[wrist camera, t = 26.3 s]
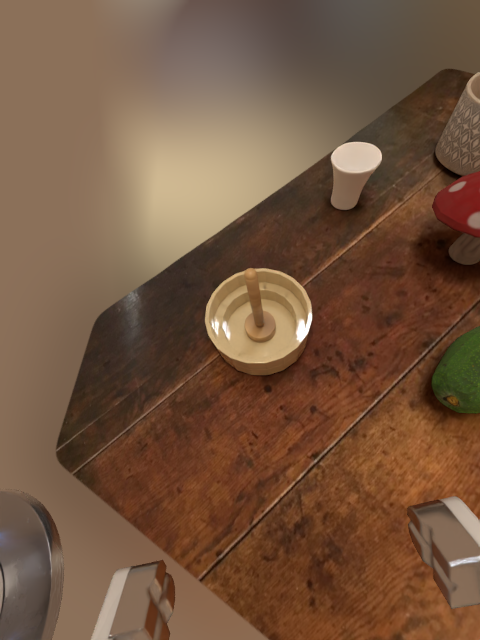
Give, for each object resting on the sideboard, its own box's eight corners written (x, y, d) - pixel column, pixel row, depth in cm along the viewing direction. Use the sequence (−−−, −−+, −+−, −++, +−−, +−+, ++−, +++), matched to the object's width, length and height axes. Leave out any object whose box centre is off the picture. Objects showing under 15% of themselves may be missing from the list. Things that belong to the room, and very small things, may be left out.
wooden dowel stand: (263, 348, 44) (254, 297, 30) (240, 332, 46) (219, 276, 32) (281, 325, 46) (280, 265, 31) (257, 310, 48) (246, 247, 33)
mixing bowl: (271, 396, 41) (269, 386, 35) (197, 340, 47) (184, 324, 41) (326, 319, 46) (333, 298, 39) (251, 277, 52) (247, 254, 46)
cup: (341, 222, 55) (352, 178, 46) (315, 197, 59) (321, 152, 50) (377, 205, 55) (395, 158, 46) (350, 181, 60) (361, 134, 51)
